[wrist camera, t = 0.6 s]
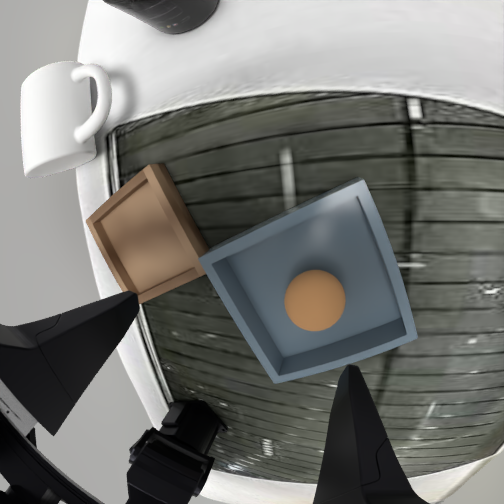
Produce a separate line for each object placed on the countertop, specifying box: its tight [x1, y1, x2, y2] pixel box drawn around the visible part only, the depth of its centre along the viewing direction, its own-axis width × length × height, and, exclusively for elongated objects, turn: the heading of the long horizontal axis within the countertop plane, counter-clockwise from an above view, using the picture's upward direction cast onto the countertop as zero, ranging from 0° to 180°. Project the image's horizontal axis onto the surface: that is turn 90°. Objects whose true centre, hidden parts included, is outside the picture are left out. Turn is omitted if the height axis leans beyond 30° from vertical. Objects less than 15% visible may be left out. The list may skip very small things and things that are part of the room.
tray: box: [86, 163, 210, 304], centre depth 24 cm, size 10×10×2 cm
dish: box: [198, 177, 418, 384], centre depth 21 cm, size 13×13×3 cm
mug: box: [21, 61, 112, 178], centre depth 19 cm, size 12×10×8 cm
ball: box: [284, 270, 346, 331], centre depth 19 cm, size 4×4×4 cm
